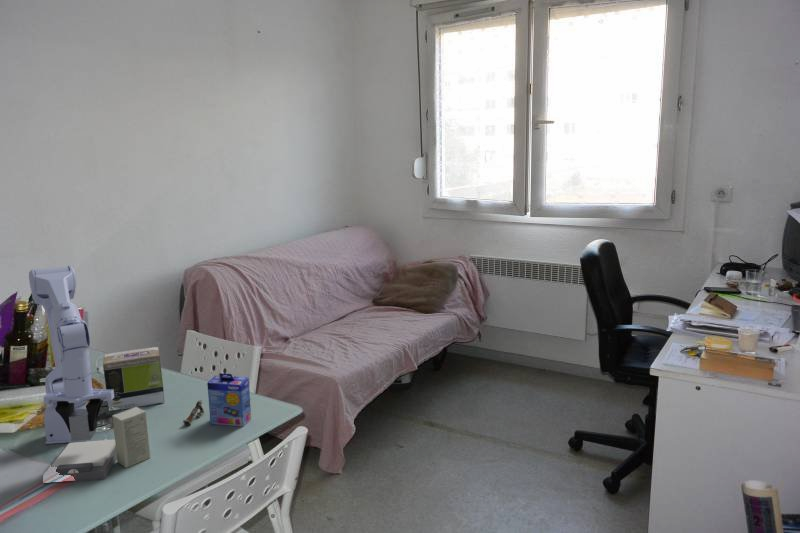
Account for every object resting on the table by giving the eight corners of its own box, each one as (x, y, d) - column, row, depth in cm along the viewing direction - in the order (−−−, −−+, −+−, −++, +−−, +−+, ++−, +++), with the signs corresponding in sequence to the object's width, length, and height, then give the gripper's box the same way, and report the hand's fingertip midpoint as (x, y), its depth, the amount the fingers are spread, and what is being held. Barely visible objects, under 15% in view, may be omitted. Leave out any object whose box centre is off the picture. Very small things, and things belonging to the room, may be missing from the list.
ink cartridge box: (208, 425, 159) (205, 374, 156) (218, 416, 165) (214, 366, 162) (243, 427, 158) (240, 376, 155) (251, 418, 163) (249, 368, 160)
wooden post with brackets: (207, 409, 167) (203, 398, 164) (193, 432, 160) (188, 421, 158) (202, 409, 167) (197, 398, 165) (187, 431, 161) (182, 420, 158)
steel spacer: (71, 441, 136) (68, 416, 135) (78, 433, 140) (75, 409, 139) (90, 439, 137) (87, 415, 136) (96, 431, 141) (93, 408, 140)
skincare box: (141, 452, 145) (137, 405, 143) (151, 458, 142) (146, 410, 140) (116, 462, 140) (111, 414, 138) (125, 468, 137) (120, 420, 135)
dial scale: (42, 484, 131) (40, 470, 131) (67, 452, 145) (65, 440, 144) (104, 479, 133) (103, 466, 133) (123, 448, 147) (122, 436, 146)
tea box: (162, 391, 182) (159, 345, 179) (164, 403, 173) (160, 355, 170) (108, 399, 176) (103, 352, 173) (107, 413, 167) (102, 363, 164)
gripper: (35, 383, 131) (42, 440, 133) (104, 379, 133) (110, 435, 136) (48, 372, 138) (55, 426, 140) (114, 368, 140) (120, 421, 142)
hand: (83, 430), depth 138 cm, fingers closed on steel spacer, 4 cm apart
